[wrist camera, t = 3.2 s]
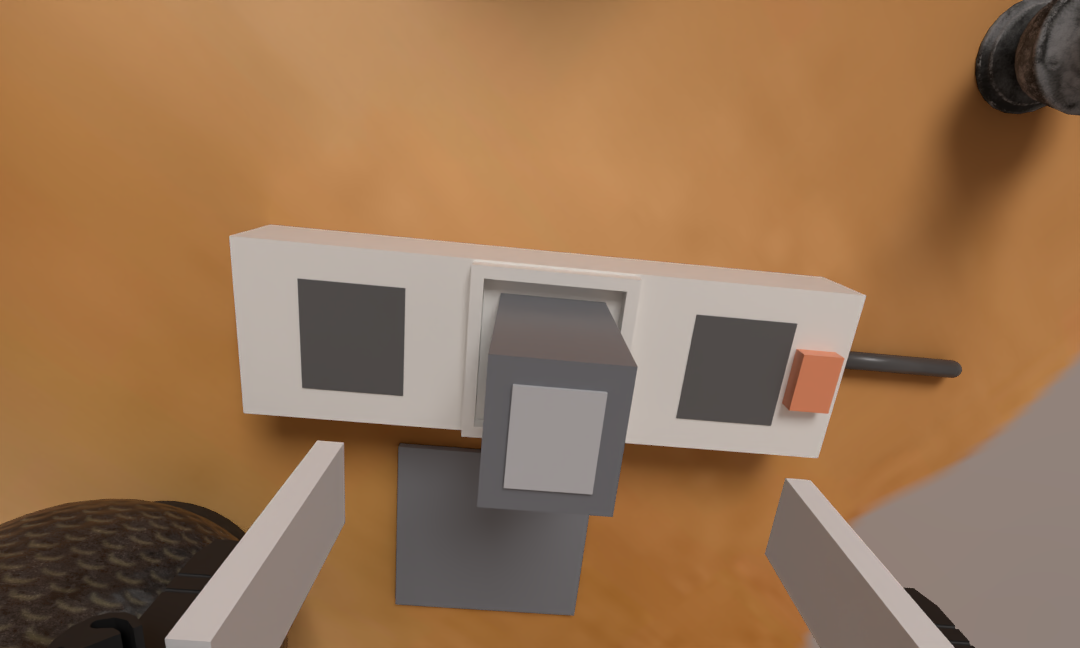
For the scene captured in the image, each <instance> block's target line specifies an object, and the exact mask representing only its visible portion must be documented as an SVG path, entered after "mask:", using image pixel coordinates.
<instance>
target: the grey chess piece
mask: <svg viewBox="0 0 1080 648" xmlns="http://www.w3.org/2000/svg"><path fill="white" fill-rule="evenodd" d="M975 75H976V80H977V85H978V89H979V91H980V92H981V94H982V96H983V98H984V100H985V101H987V102H988V103H989V104H990V105H991V106H992V107H993V108H995V109H997V110H1000V111H1002V112H1004V113H1014V114H1021V113H1026V112H1032V111H1035V110H1037V109H1040V108H1042V107H1044V106H1046V105H1047V106H1049V107H1052V108H1054V109H1057V110H1059V111H1061V112H1063V113H1066V114H1071V115H1080V0H1023V1H1021V2H1019V3H1017V4H1014V5H1013V6H1012V7H1010V8H1009V9H1008V10H1007V11H1005V12H1004V13H1003V14H1002V15H1000V17H999V18H998V19H997V20H996V21H995V22H994V24H993V25H992V26H991V27H990V28H989V30H988V32H987V34H986V36H985V37H984V39H983V41H982V43H981V46H980V49H979V52H978V56H977V59H976V73H975Z"/></svg>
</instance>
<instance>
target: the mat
mask: <svg viewBox="0 0 1080 648" xmlns="http://www.w3.org/2000/svg"><path fill="white" fill-rule="evenodd" d="M480 460H481V449H469V448H456V447H443V446H430V445H417V444H404V443H400V444H399V447H398V500H397V553H396V604H399V605H415V606H431V607H446V608H462V609H478V610H494V611H510V612H526V613H542V614H558V615H574V612H575V605H576V599H577V592H578V585H579V579H580V572H581V565H582V559H583V552H584V546H585V539H586V532H587V526H588V519H589V515H580V514H566V513H552V512H538V511H524V510H510V509H496V508H482V507H477V500H478V487H479V473H480Z"/></svg>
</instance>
